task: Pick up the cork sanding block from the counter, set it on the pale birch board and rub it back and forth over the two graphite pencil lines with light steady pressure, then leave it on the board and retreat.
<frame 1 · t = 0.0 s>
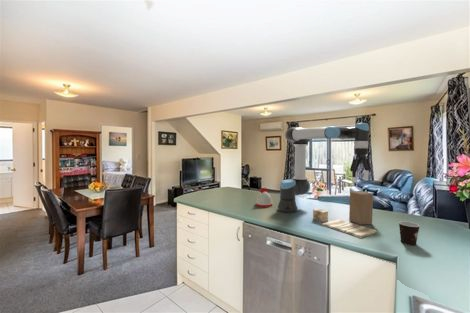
hand: (360, 181, 148), 28 cm above the countertop, fingers open, 13 cm apart
kitchen timer: (264, 205, 198), on the countertop
coffee mug: (405, 243, 122), on the countertop
sanding block: (320, 220, 158), on the countertop
board: (347, 228, 142), on the countertop
block: (360, 222, 154), on the countertop
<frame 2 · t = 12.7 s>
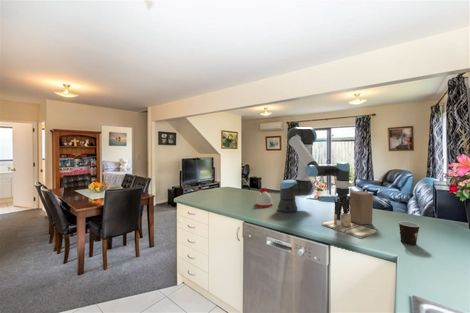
hand: (341, 224, 146), 2 cm above the countertop, fingers closed on sanding block, 5 cm apart
sanding block: (342, 224, 146), point 1 cm above the countertop, touching gripper
everything else where it was.
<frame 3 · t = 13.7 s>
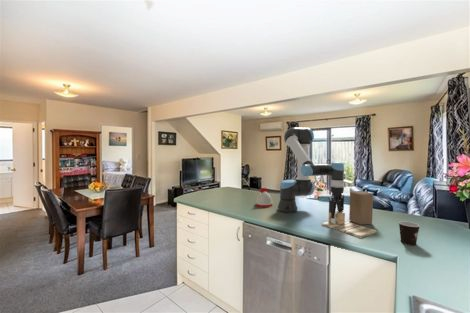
hand: (336, 222, 149), 2 cm above the countertop, fingers closed on sanding block, 5 cm apart
sanding block: (336, 223, 149), point 1 cm above the countertop, touching board, gripper
everything else where it was.
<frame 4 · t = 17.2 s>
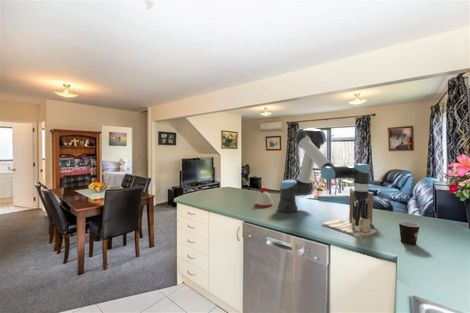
hand: (360, 229, 136), 2 cm above the countertop, fingers closed on sanding block, 5 cm apart
sanding block: (360, 230, 136), point 1 cm above the countertop, touching gripper
everything else where it was.
when the fingers open (3 cm above the countertop, at t = 19.6 s): sanding block drops 2 cm, resting on board.
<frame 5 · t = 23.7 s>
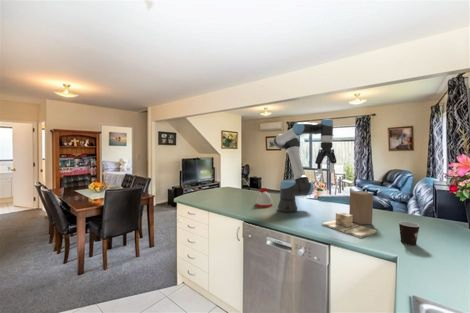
hand: (325, 173, 159), 32 cm above the countertop, fingers open, 13 cm apart
sanding block: (343, 225, 145), point 1 cm above the countertop, touching board
everything else where it was.
at the end: sanding block inside the target area (2.8 cm from its centre), point 1.2 cm above the countertop; sanding block tilted 0°; the gripper is holding nothing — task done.
